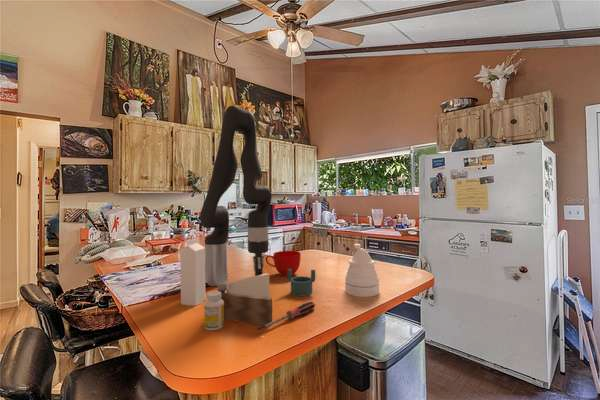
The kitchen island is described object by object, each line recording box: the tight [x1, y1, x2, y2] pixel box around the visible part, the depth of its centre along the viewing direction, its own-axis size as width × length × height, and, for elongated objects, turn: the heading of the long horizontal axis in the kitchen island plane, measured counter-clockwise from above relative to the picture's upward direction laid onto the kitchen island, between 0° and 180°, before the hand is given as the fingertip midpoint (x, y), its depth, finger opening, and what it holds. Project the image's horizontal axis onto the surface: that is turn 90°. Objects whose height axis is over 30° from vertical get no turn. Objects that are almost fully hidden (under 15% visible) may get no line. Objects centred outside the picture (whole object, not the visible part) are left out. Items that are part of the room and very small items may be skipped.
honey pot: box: [344, 243, 380, 298], centre depth 113 cm, size 13×13×18 cm
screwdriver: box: [254, 301, 316, 332], centre depth 87 cm, size 25×3×3 cm, turn 139°
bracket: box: [287, 269, 316, 297], centre depth 113 cm, size 9×9×9 cm
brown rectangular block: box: [219, 291, 273, 327], centre depth 88 cm, size 19×4×8 cm, turn 71°
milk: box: [179, 238, 207, 307], centre depth 103 cm, size 6×6×22 cm
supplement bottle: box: [203, 290, 225, 332], centre depth 83 cm, size 5×5×10 cm
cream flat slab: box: [216, 272, 271, 298], centre depth 97 cm, size 19×3×9 cm, turn 133°
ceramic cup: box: [265, 250, 302, 277], centre depth 139 cm, size 13×17×10 cm
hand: (258, 285), depth 108 cm, fingers closed
